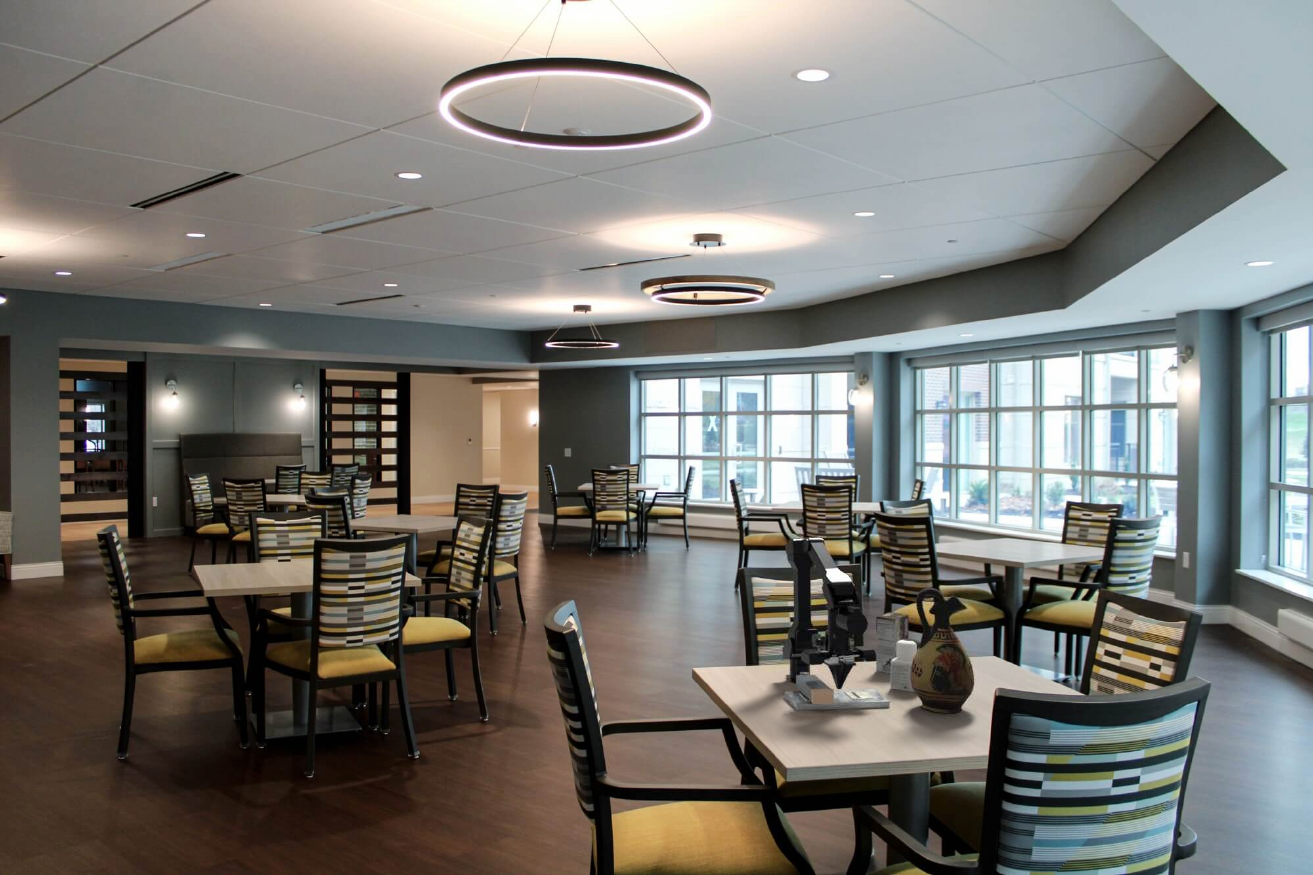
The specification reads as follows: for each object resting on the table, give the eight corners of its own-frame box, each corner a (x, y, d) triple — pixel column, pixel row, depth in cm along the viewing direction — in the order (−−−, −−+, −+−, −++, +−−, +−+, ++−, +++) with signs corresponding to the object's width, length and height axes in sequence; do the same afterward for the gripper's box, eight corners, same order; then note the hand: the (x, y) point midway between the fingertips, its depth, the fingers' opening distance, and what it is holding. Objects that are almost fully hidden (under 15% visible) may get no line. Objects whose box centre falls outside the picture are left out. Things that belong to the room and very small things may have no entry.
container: (898, 682, 266) (898, 636, 266) (926, 686, 262) (926, 639, 262) (890, 689, 259) (890, 640, 259) (918, 692, 255) (918, 644, 255)
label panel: (784, 697, 250) (784, 690, 250) (873, 694, 253) (873, 688, 253) (796, 710, 239) (796, 702, 239) (889, 707, 241) (889, 700, 241)
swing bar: (793, 692, 255) (793, 672, 255) (812, 691, 255) (812, 671, 255) (813, 711, 236) (813, 690, 236) (833, 711, 237) (833, 689, 237)
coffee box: (889, 665, 286) (889, 611, 287) (909, 668, 282) (909, 614, 282) (875, 671, 279) (875, 615, 279) (895, 674, 275) (895, 618, 275)
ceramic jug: (972, 702, 246) (972, 585, 246) (975, 719, 231) (975, 595, 231) (904, 697, 251) (904, 583, 251) (903, 713, 236) (903, 591, 236)
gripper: (857, 620, 256) (857, 679, 256) (792, 623, 251) (792, 683, 251) (877, 628, 245) (877, 689, 245) (810, 632, 240) (810, 694, 240)
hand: (838, 689), depth 245 cm, fingers closed
